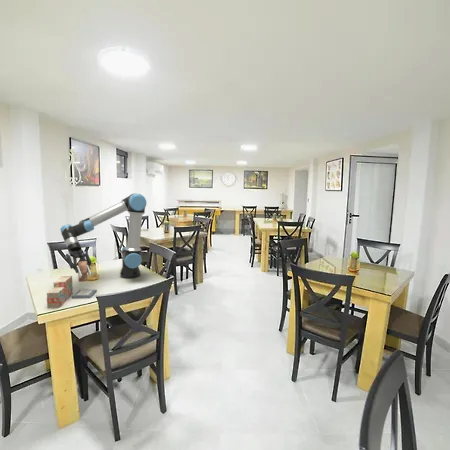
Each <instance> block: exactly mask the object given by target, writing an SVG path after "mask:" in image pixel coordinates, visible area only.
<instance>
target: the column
mask: <svg viewBox="0 0 450 450" xmlns="http://www.w3.org/2000/svg"><path fill="white" fill-rule="evenodd" d="M77 267H79V269H80V271H81V274H82V276H81V278H79V275H78V274H77V275H78V276H77V277H78V282H79V283H80V282H81V283H83V282H87V281H88V273H87V261H82V260H80V261H77Z"/></svg>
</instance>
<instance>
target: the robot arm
mask: <svg viewBox="0 0 450 450" xmlns="http://www.w3.org/2000/svg"><path fill="white" fill-rule="evenodd" d="M146 206H147V199H146V197H145V196H144V195H143V194H141V193H131V194H129V195H128V196H126V197H125V198H123V199H121V201H120V202H118V203H116V204H113V205H112V206H109V207H108V208H106V209H105V208H104V210H100V211H99V212H96V213H95V214H92V215H91V216H88V217H86V218H84V219H82V220H80V221H79V222H78V223H77V224H75V225H72V224H64V225H62V226H61V228H60V233H61V236H62V239H63V241H64V243H65V246H66V248H67V250H68V253H66V254H65V256H64V257H65V258H66V260H67V263H68V266H69V268H70V269H71V270H72V269H73V270H74V271H75V273H76V274H77V275H79V278H81V276H82V274H81V271H80V269H79V267H78V261H77V259H79V260H80V261H87V276H88V277H90V276H91V275H92V272H91V269H92V268H91V265H92V263H93V262H92V260H91V258H90V255H89V251H87V250H86V251H84V250H83V249H82V246H81V244H80V241H79V239H78V237H80V236H82V235H85V234H86V233H90V232H92V231H94V230H95V227H96V226H99V224H102V223H104V222H106V221H108V220H110V219H112V218H115V217H117V216H119V215H120V214H123V213H124V212H128V214H129V218H128V219H129V220H128V221H129V222H128V234H127V246H124V247H123V246H122V249H121V258H122V260H121V261H122V264H121V265H122V268H121V270H120V278H123V279H133V278H138V277H140V276H141V270H140V266H141V264H142V261H143V259H142V248H141V247H140V246H141V234H142V220H143V215H144V214H145V212H146V211H145V210H146ZM71 257H72V258H71Z"/></svg>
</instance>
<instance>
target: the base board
mask: <svg viewBox="0 0 450 450" xmlns="http://www.w3.org/2000/svg"><path fill="white" fill-rule="evenodd" d="M97 292H98V289H78V290H77V291H76V292H75V293H73V295H72V296H71V300H72V299H92V297H93V296H94V295H95V294H96V293H97Z"/></svg>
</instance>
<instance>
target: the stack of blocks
mask: <svg viewBox="0 0 450 450" xmlns="http://www.w3.org/2000/svg"><path fill="white" fill-rule="evenodd" d="M73 291H74V289H73V275H65V276H60V277H59V278H57V279H56V280H55V281H54V282H53V288H51V289H50V290H48V292H46V305H47V309H59V308H60V307H61V306H63V304H64V303H66V301H68V299H70V298H71V297H72V296H73V295H74V292H73ZM72 294H73V295H72ZM71 295H72V296H71Z"/></svg>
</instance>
